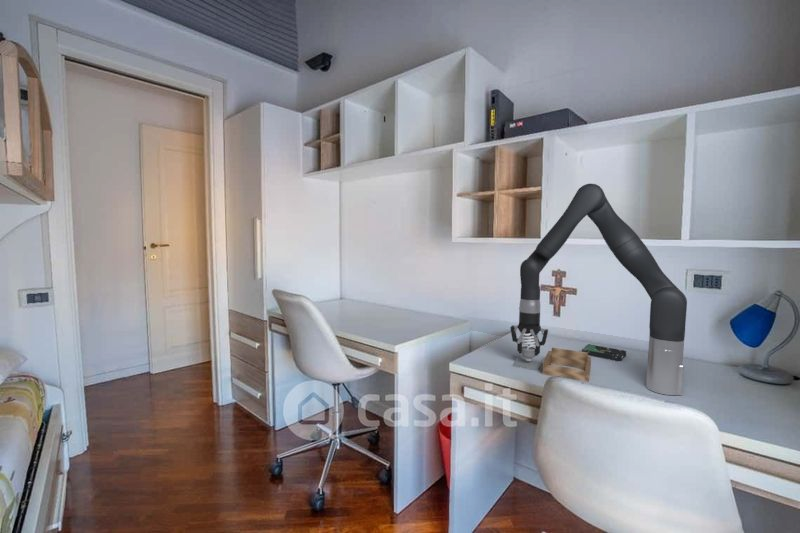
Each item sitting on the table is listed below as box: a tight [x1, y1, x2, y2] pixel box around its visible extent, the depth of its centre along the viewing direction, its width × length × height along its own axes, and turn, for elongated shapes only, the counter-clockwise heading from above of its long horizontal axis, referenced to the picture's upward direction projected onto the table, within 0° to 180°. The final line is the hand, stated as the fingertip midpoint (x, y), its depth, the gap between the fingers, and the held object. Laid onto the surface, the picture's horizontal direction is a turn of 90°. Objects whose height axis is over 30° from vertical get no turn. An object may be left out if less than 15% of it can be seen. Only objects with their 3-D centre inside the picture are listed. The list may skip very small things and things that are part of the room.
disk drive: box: [581, 344, 627, 362], centre depth 161 cm, size 10×3×15 cm
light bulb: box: [520, 333, 536, 362], centre depth 147 cm, size 6×6×12 cm
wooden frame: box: [541, 347, 592, 383], centre depth 141 cm, size 15×15×6 cm
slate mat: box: [512, 357, 543, 371], centre depth 148 cm, size 9×9×1 cm
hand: (528, 353), depth 147 cm, fingers open, 5 cm apart
